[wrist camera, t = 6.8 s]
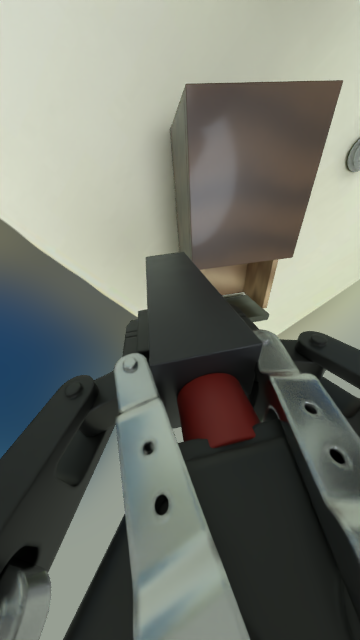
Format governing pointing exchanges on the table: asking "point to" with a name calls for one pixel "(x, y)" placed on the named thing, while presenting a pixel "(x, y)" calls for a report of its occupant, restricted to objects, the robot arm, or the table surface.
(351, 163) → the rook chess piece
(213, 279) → the drawer
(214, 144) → the cabinet
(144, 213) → the table surface
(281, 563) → the robot arm
